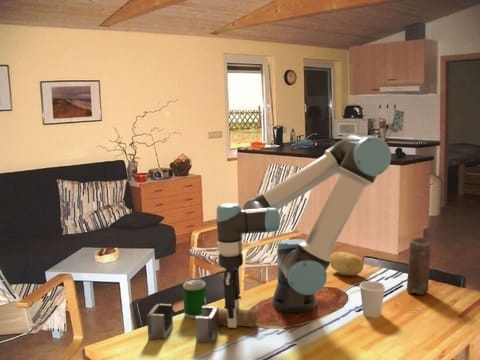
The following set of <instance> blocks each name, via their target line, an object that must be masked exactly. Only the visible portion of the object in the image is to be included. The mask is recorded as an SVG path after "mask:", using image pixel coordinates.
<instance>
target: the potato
mask: <svg viewBox="0 0 480 360" xmlns="http://www.w3.org/2000/svg"><path fill="white" fill-rule="evenodd" d="M330 258H331V262H330V267H331V268H332V270H334V271H336V273H338V274H339V275H341V276H351V277H353V276H356V275H358V274H361V272H362V271H363V270H364V265H365V264H364V261H363V259H362V258H361V257H360V256H358V255H356V254H354V253H351V252H347V251H336V252H333V253H332V254H330Z"/></svg>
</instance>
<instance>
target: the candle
mask: <svg viewBox="0 0 480 360" xmlns="http://www.w3.org/2000/svg"><path fill="white" fill-rule="evenodd" d="M431 245H432V242H431V240H429V239H428V238H423V237H413V238H412V239H410V241H409V249H408V250H409V253H408V268H407V269H408V270H407V278H406V280H407V282H406V291H407V292H408V293H412V294H414V293H417V294H416V295H418V294H421V295H423V294H426V293H428V292H429V283H430V282H429V280H430V263H431V262H430V261H431Z"/></svg>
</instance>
